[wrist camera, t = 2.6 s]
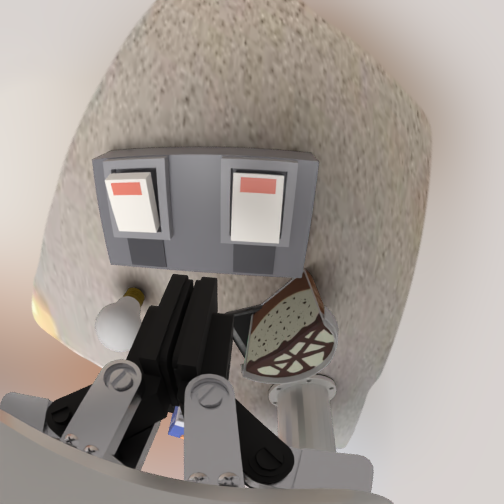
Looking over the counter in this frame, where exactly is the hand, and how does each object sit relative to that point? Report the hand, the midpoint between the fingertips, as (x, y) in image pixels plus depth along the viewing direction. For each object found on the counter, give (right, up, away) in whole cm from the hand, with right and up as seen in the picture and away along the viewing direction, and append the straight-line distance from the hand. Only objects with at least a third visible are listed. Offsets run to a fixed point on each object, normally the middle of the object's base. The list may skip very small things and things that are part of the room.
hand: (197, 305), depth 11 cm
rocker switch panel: (-3, +7, +18) cm, 20 cm away
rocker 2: (+2, +6, +12) cm, 14 cm away
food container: (+7, -4, +25) cm, 27 cm away
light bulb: (-13, -3, +25) cm, 29 cm away
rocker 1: (-8, +6, +13) cm, 16 cm away
